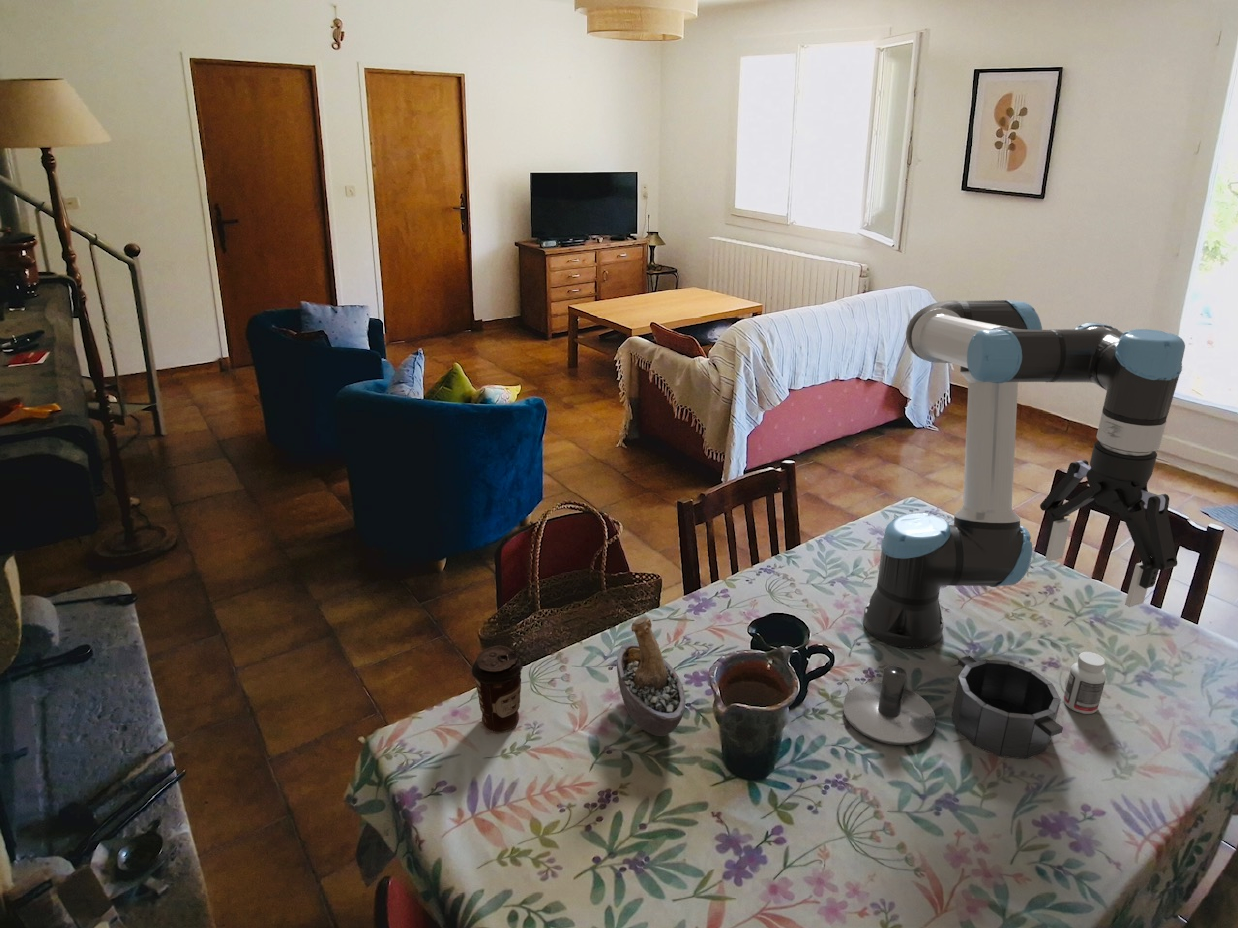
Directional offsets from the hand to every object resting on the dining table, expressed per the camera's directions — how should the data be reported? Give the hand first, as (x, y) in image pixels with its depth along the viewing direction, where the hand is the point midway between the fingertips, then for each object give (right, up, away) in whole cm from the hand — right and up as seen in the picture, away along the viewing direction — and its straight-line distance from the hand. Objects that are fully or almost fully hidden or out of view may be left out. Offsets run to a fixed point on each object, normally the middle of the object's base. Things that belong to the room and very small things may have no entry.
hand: (1091, 580), depth 123 cm
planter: (-64, -27, +21) cm, 72 cm away
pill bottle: (+11, -25, +24) cm, 37 cm away
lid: (-23, -26, +21) cm, 41 cm away
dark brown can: (-89, -27, +21) cm, 95 cm away
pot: (-5, -27, +19) cm, 34 cm away
